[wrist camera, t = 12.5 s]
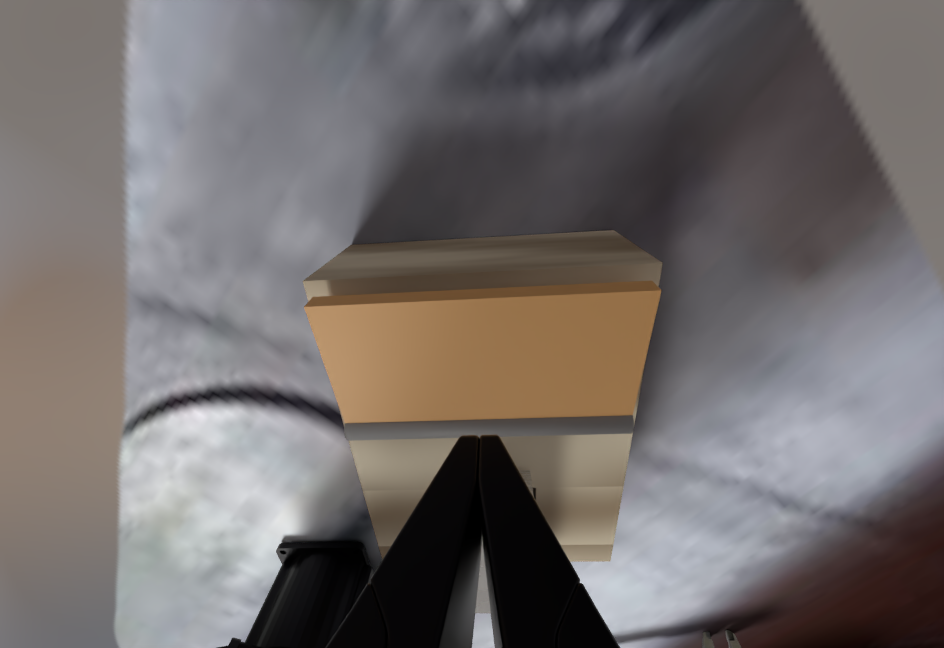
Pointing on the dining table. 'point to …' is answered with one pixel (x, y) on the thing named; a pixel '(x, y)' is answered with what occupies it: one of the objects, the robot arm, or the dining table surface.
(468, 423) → the tan wooden plank
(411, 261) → the hitch block
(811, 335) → the dining table surface
